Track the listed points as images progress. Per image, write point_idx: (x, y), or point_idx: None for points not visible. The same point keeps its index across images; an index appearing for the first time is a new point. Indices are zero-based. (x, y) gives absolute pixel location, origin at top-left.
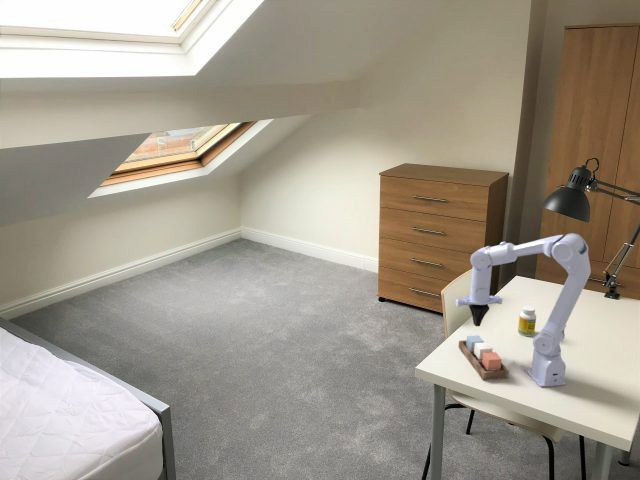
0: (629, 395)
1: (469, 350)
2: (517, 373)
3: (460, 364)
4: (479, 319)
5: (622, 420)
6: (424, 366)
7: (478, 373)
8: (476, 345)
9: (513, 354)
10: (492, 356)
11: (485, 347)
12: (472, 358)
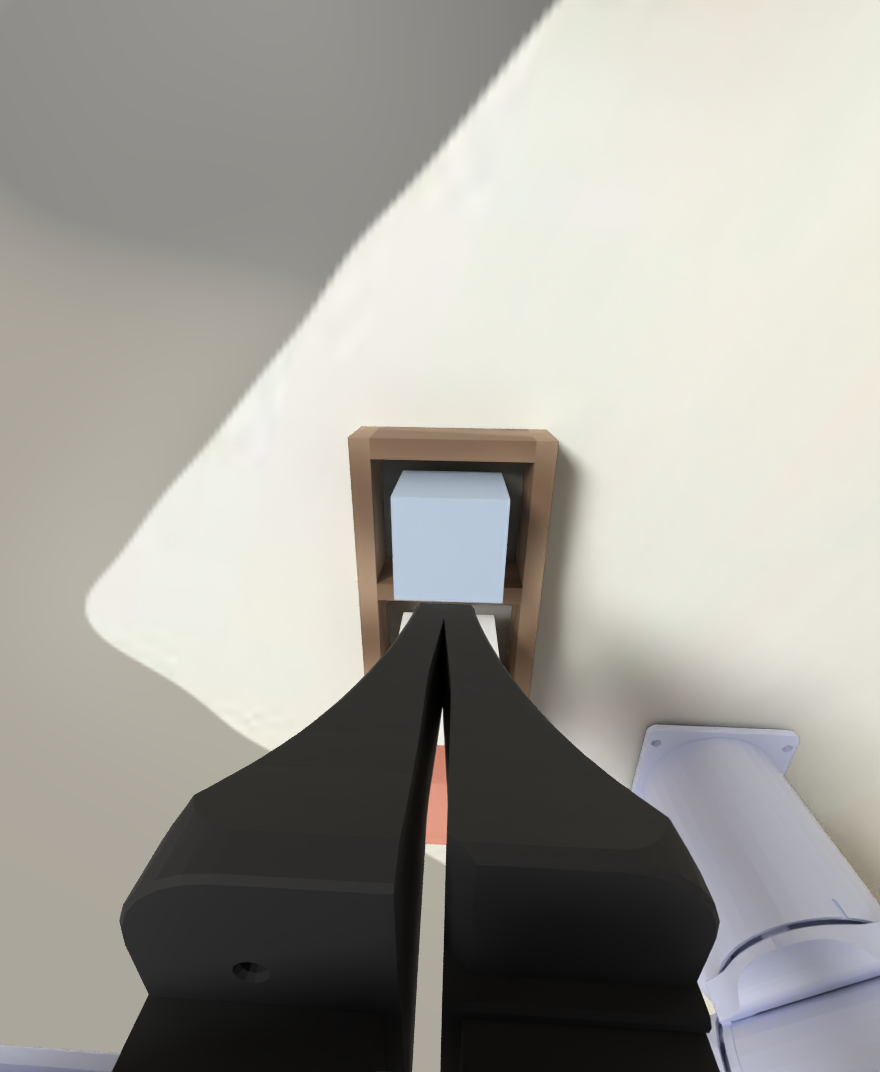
0: None
1: (380, 588)
2: (586, 738)
3: (310, 621)
4: (446, 764)
5: None
6: (92, 607)
7: None
8: None
9: (705, 574)
10: (442, 818)
11: None
12: (364, 674)
